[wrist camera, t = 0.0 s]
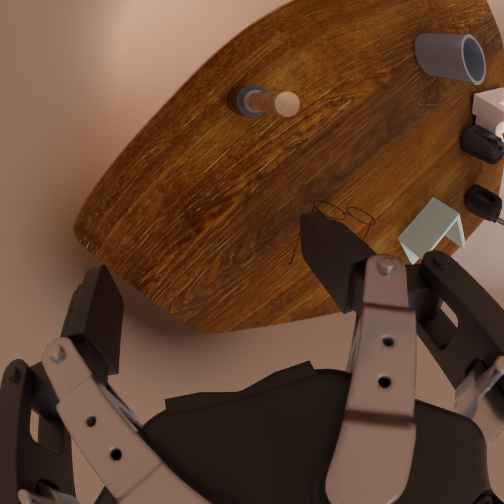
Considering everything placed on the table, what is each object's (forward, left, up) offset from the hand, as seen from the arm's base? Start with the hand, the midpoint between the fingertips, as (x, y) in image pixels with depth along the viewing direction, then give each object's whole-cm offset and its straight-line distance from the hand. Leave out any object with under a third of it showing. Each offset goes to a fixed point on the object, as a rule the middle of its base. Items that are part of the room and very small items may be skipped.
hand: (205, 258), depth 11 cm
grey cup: (-13, +42, -24) cm, 50 cm away
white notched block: (-4, +67, -24) cm, 71 cm away
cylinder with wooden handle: (-4, +8, -24) cm, 26 cm away
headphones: (+10, +59, -24) cm, 64 cm away
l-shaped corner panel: (+24, +44, -24) cm, 55 cm away
